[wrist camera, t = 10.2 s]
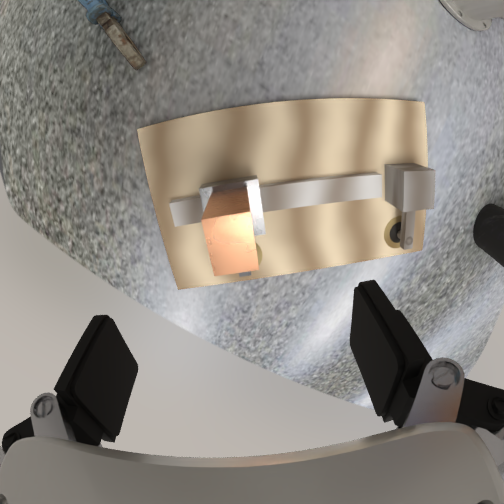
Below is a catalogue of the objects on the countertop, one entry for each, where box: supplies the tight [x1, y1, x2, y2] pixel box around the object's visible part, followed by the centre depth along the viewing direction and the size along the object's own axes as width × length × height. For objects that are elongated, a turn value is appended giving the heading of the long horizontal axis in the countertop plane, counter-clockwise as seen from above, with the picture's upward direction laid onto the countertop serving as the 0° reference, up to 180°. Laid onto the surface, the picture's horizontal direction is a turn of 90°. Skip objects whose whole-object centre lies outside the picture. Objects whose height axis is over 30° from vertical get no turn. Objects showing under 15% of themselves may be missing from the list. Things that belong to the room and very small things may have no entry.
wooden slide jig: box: [137, 98, 435, 290], centre depth 26 cm, size 30×18×6 cm, turn 98°
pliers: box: [78, 0, 146, 70], centre depth 16 cm, size 20×2×6 cm, turn 32°
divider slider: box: [199, 175, 266, 277], centre depth 23 cm, size 5×10×10 cm, turn 8°
